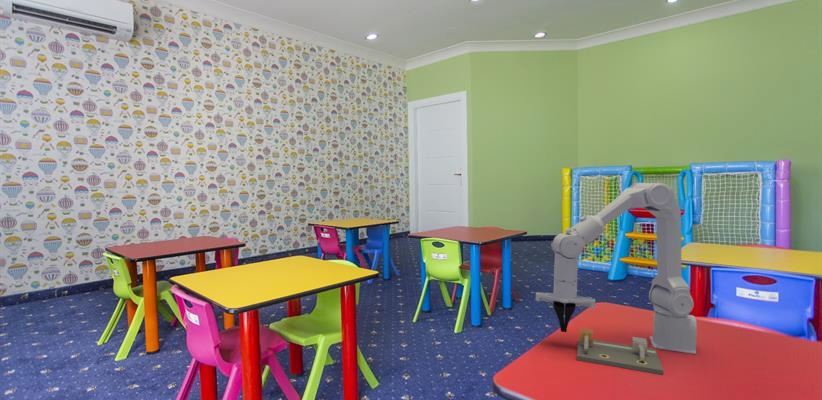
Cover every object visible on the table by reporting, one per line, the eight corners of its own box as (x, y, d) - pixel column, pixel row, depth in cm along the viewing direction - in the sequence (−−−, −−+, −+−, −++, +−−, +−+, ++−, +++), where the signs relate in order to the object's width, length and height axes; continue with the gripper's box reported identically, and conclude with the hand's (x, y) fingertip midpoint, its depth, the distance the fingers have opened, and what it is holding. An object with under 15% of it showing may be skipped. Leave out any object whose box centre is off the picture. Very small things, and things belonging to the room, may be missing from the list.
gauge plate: (655, 352, 104) (655, 345, 104) (663, 374, 92) (663, 366, 92) (578, 341, 111) (578, 334, 111) (576, 359, 99) (576, 352, 99)
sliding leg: (592, 342, 107) (593, 330, 107) (592, 353, 100) (593, 340, 100) (580, 340, 108) (580, 328, 108) (579, 351, 101) (579, 338, 101)
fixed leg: (645, 350, 102) (645, 338, 102) (649, 363, 95) (650, 350, 95) (631, 348, 104) (632, 336, 103) (634, 360, 96) (635, 348, 96)
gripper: (534, 279, 107) (533, 331, 108) (595, 286, 101) (593, 340, 102) (538, 274, 114) (536, 323, 114) (595, 280, 108) (593, 331, 108)
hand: (563, 330), depth 108 cm, fingers closed
